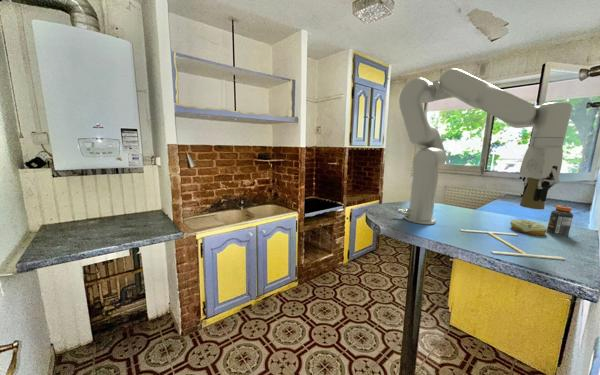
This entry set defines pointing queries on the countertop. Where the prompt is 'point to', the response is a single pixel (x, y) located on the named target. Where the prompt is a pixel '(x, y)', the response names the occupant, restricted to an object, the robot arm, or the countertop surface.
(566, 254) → the countertop surface
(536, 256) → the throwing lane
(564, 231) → the pill bottle
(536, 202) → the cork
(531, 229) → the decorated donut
